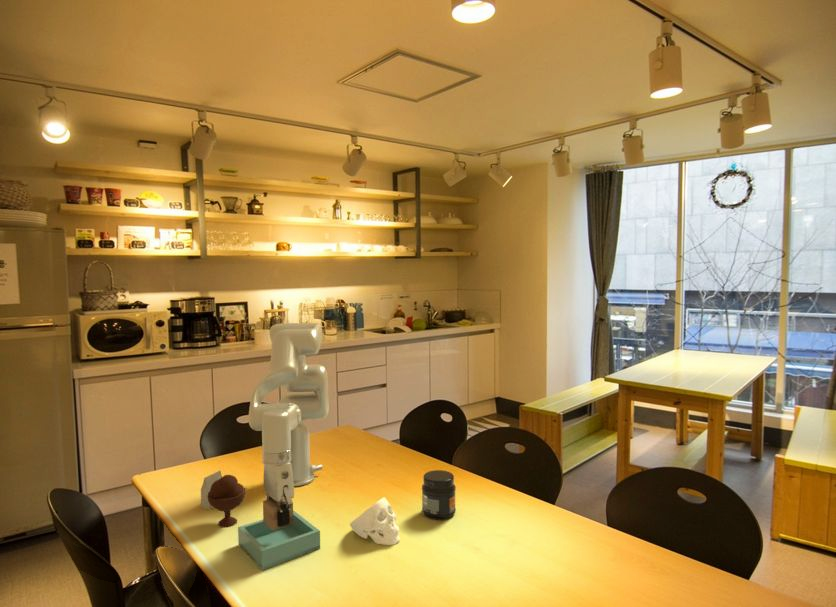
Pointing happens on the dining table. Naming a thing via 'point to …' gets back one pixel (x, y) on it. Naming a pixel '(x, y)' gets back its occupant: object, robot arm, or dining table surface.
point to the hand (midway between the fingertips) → (278, 520)
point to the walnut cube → (274, 513)
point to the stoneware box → (278, 541)
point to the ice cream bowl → (226, 497)
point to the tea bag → (208, 489)
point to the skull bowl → (378, 523)
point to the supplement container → (438, 495)
